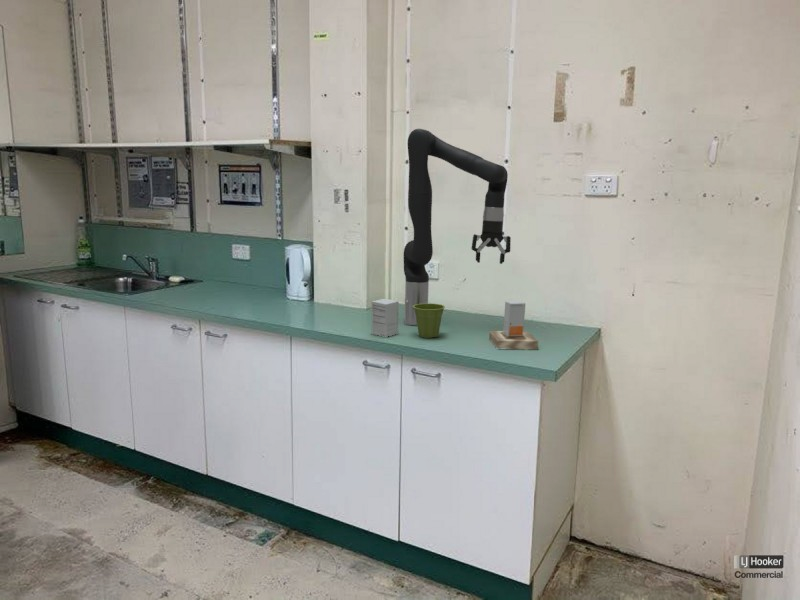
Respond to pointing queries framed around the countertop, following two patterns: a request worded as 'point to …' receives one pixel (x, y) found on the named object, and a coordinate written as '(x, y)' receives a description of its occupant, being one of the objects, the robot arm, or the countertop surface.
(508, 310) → the skincare box
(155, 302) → the countertop surface
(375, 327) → the supplement box
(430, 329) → the plant pot
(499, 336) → the birch plinth
